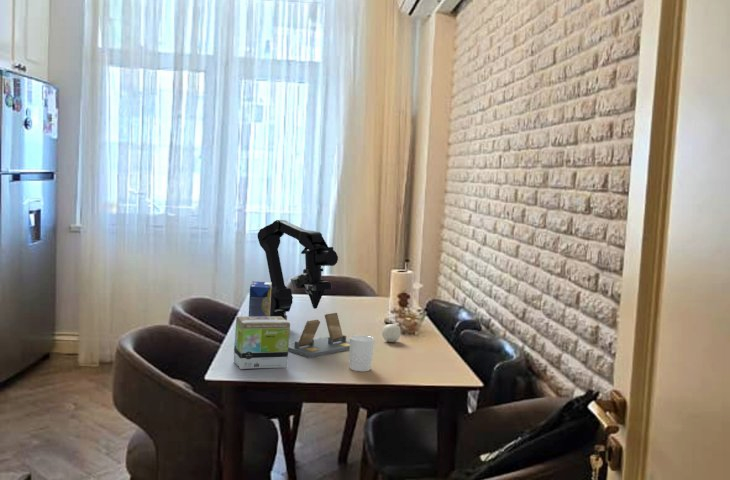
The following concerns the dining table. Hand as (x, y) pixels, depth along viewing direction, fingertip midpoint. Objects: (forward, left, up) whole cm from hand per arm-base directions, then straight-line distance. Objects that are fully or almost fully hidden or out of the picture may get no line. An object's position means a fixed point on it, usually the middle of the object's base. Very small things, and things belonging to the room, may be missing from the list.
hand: (315, 308), depth 259 cm
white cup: (+21, -33, -12) cm, 41 cm away
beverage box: (-16, -19, -12) cm, 27 cm away
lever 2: (+10, -7, -9) cm, 15 cm away
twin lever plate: (+5, -12, -11) cm, 17 cm away
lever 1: (0, -17, -9) cm, 20 cm away
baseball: (+28, +6, -12) cm, 31 cm away
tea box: (-10, -39, -12) cm, 42 cm away
